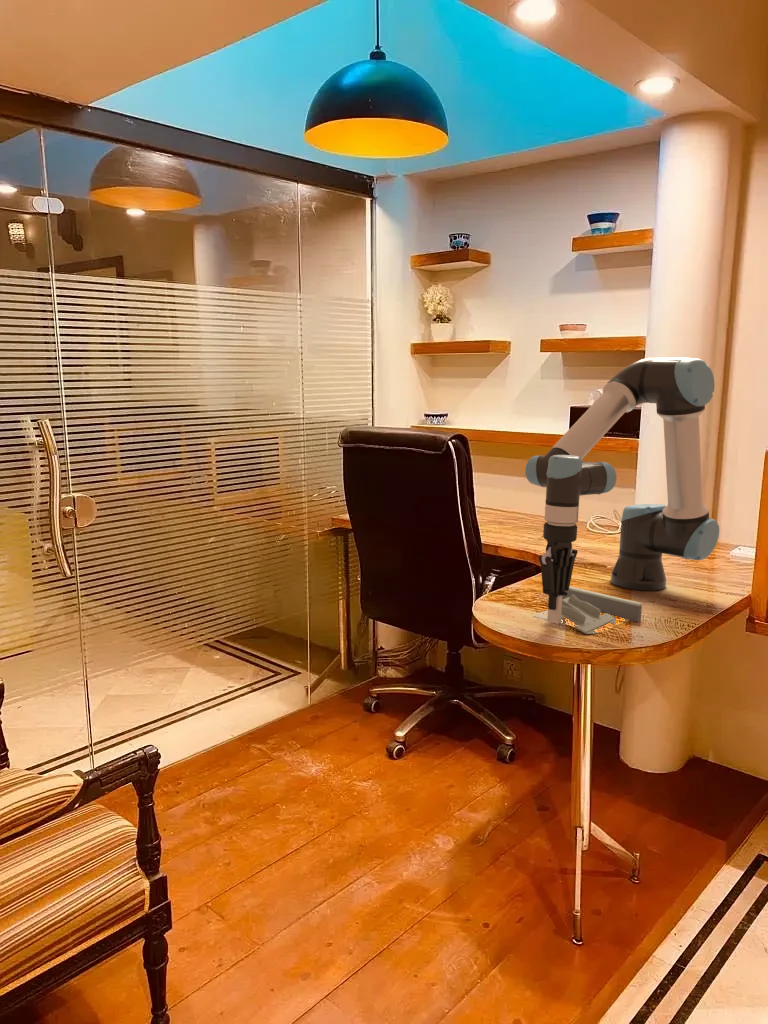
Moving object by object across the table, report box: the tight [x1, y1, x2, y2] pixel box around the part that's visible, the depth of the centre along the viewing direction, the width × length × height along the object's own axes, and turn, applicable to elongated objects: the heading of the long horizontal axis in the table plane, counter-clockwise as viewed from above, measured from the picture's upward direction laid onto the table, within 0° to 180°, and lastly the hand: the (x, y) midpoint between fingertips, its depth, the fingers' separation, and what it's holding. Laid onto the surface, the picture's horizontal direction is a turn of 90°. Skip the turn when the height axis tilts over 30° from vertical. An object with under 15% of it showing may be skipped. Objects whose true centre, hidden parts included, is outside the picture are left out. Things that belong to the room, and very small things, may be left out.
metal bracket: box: [546, 594, 616, 635], centre depth 188 cm, size 14×6×15 cm
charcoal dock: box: [532, 586, 644, 626], centre depth 192 cm, size 17×22×5 cm
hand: (553, 621), depth 183 cm, fingers closed
